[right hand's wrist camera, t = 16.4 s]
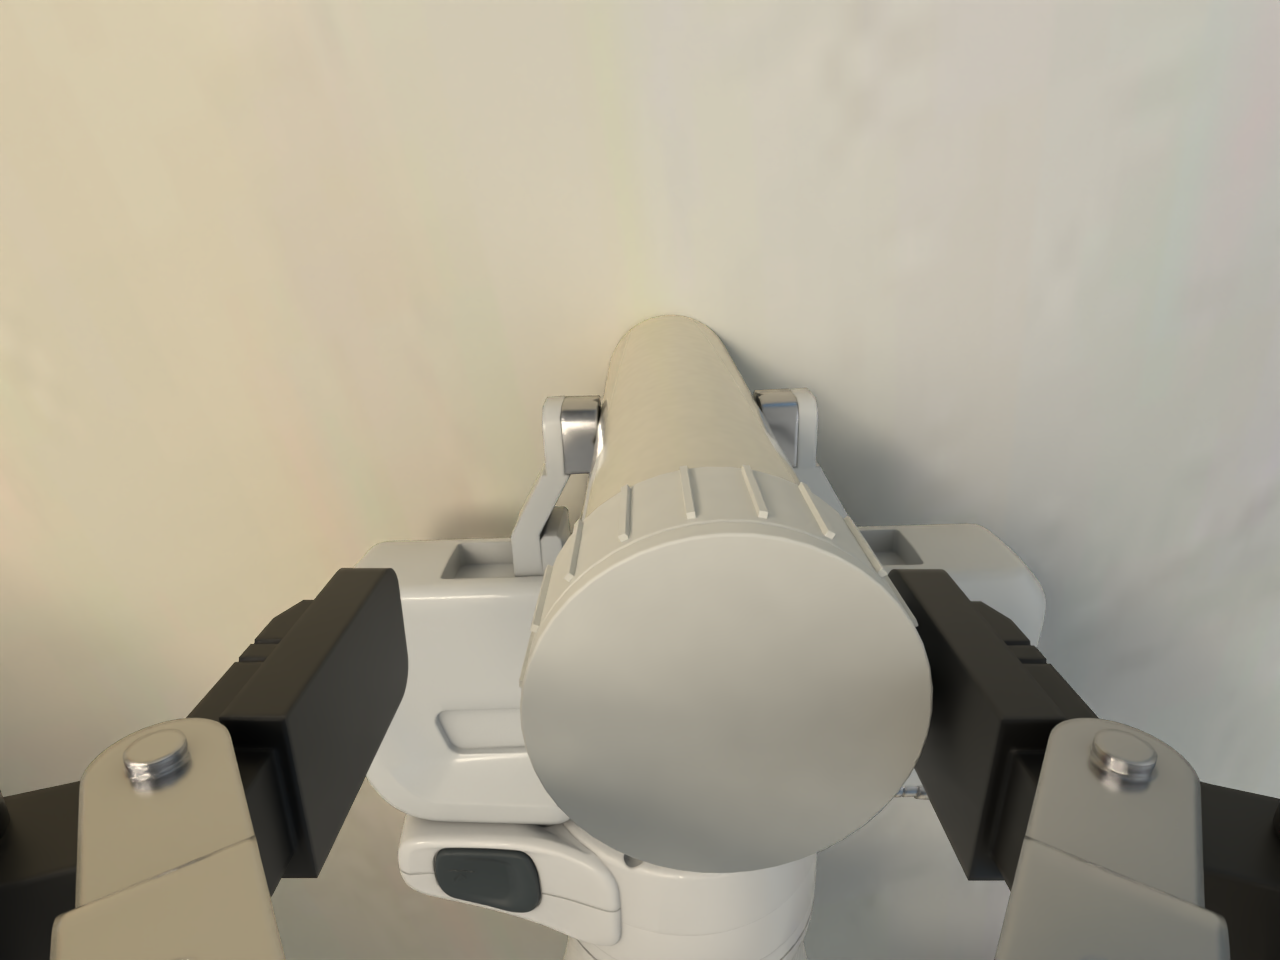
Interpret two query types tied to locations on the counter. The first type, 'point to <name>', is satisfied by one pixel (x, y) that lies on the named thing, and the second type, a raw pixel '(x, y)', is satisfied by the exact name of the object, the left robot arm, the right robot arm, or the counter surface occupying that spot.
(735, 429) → the beige canister
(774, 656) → the lid
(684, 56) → the counter surface
